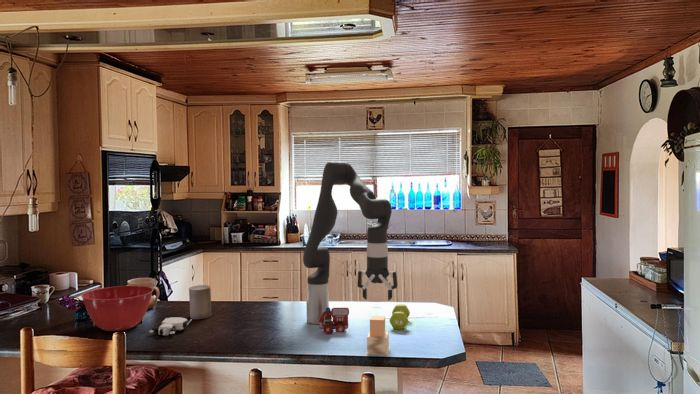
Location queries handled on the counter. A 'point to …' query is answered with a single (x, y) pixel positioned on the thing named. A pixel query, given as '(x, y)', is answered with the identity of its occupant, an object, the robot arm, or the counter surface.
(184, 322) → the robot toy
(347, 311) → the toy fire truck
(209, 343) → the counter surface
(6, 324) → the counter surface
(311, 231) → the robot arm
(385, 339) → the maple base block
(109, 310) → the mixing bowl
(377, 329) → the terracotta block
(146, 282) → the ceramic jug
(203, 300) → the pillar candle
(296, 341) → the counter surface
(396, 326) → the dumbbell
